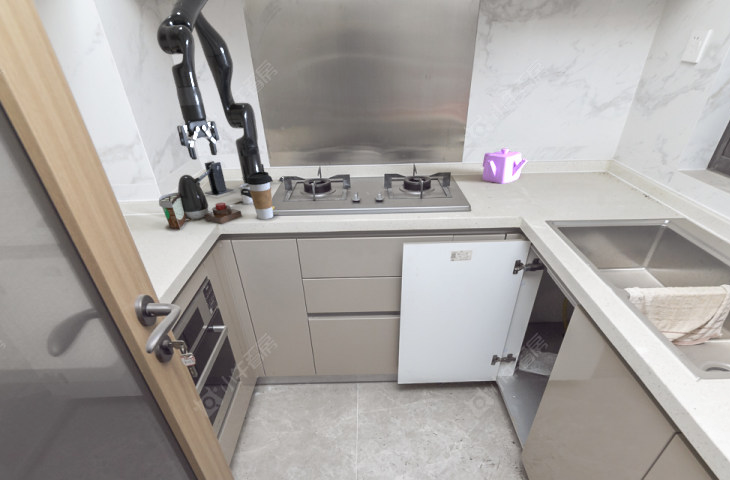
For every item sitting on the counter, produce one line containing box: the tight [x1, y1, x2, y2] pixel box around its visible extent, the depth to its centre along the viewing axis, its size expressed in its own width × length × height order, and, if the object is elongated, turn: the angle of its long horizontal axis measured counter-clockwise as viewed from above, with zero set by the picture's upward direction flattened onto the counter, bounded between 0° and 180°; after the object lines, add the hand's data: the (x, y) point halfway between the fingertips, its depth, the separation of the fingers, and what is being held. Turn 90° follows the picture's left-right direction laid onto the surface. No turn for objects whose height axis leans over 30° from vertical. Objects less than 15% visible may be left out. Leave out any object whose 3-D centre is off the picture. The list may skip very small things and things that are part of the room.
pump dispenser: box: [177, 174, 209, 220], centre depth 158 cm, size 10×10×15 cm
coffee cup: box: [247, 171, 274, 220], centre depth 155 cm, size 8×8×15 cm
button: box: [214, 202, 227, 209], centre depth 157 cm, size 4×4×2 cm
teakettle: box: [482, 147, 528, 184], centre depth 187 cm, size 17×17×12 cm
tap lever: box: [197, 163, 213, 187], centre depth 179 cm, size 14×5×2 cm, turn 147°
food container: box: [158, 191, 189, 230], centre depth 153 cm, size 12×6×10 cm, turn 3°
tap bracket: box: [204, 160, 235, 197], centre depth 184 cm, size 10×8×13 cm
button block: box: [204, 204, 243, 225], centre depth 159 cm, size 10×9×4 cm
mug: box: [238, 183, 254, 206], centre depth 174 cm, size 10×7×7 cm
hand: (204, 157), depth 150 cm, fingers open, 8 cm apart
